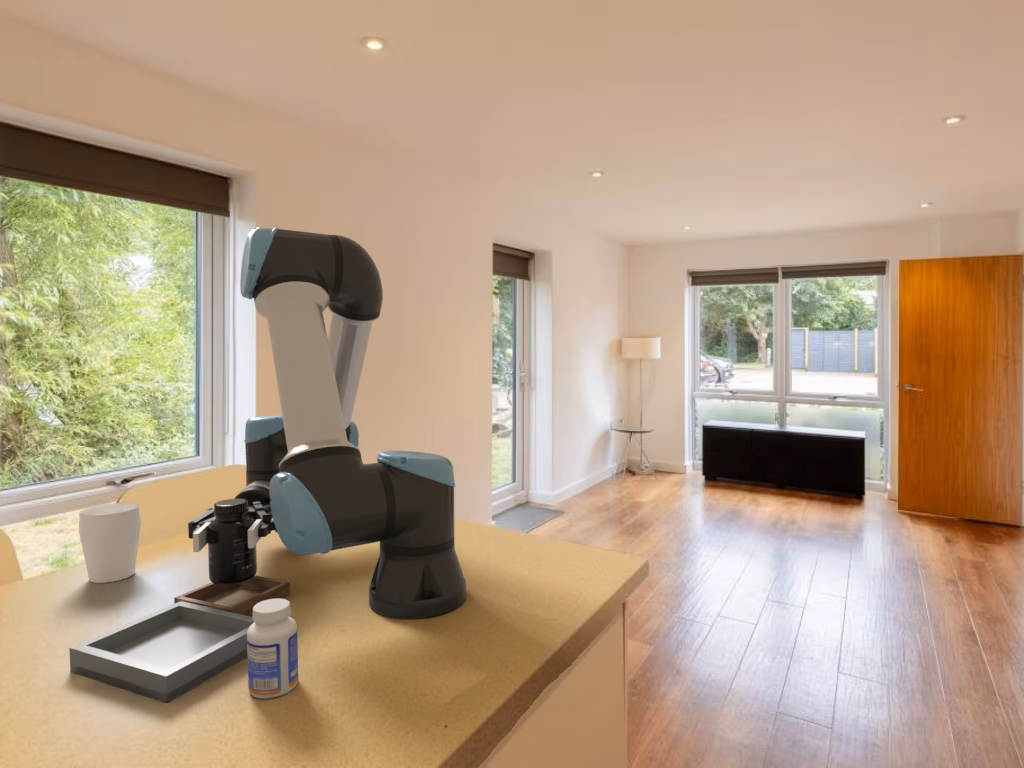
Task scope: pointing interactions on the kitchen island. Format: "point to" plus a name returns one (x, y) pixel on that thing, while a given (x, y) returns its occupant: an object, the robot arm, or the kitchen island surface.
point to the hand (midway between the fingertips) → (223, 540)
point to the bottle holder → (268, 585)
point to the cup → (110, 540)
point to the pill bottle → (272, 650)
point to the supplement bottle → (231, 543)
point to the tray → (165, 650)
